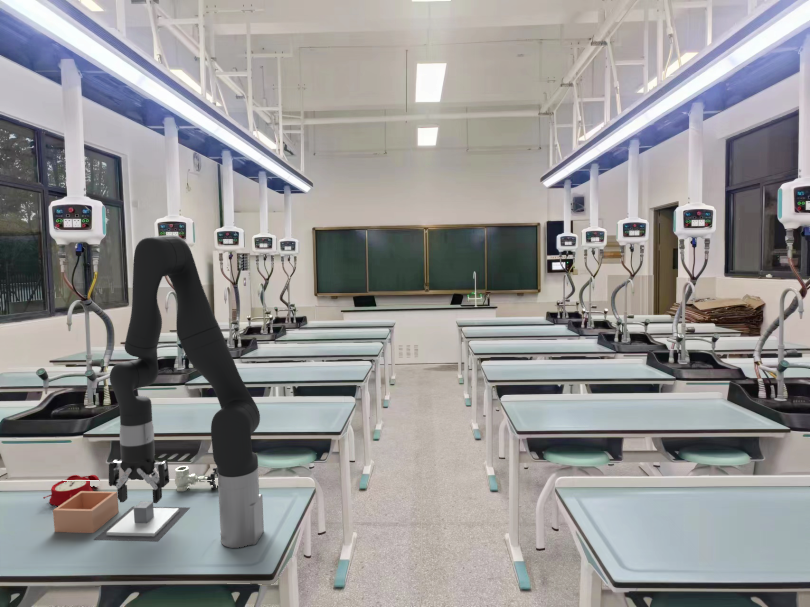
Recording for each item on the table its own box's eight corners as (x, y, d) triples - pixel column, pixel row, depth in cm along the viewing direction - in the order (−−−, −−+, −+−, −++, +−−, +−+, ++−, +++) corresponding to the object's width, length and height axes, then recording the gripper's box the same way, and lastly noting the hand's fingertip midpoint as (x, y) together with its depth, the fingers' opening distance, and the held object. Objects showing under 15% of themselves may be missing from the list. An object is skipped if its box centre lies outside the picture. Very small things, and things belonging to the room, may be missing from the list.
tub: (118, 513, 136) (117, 491, 135) (93, 534, 126) (91, 510, 125) (82, 512, 136) (80, 491, 136) (54, 533, 126) (52, 510, 126)
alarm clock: (36, 496, 138) (70, 462, 153) (42, 515, 140) (75, 479, 155) (74, 496, 138) (105, 461, 152) (79, 514, 140) (109, 479, 155)
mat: (190, 508, 137) (190, 507, 137) (158, 542, 122) (158, 541, 122) (132, 507, 138) (132, 506, 138) (93, 541, 123) (93, 539, 123)
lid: (179, 511, 136) (178, 493, 135) (154, 536, 124) (153, 517, 123) (135, 510, 136) (134, 493, 136) (106, 535, 124) (105, 516, 124)
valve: (171, 495, 145) (213, 494, 146) (169, 473, 145) (212, 472, 145) (180, 485, 152) (221, 484, 152) (179, 463, 151) (220, 463, 152)
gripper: (172, 434, 131) (175, 495, 132) (118, 433, 131) (121, 493, 133) (157, 445, 123) (160, 509, 125) (99, 444, 124) (103, 508, 126)
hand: (140, 501), depth 129 cm, fingers open, 8 cm apart
